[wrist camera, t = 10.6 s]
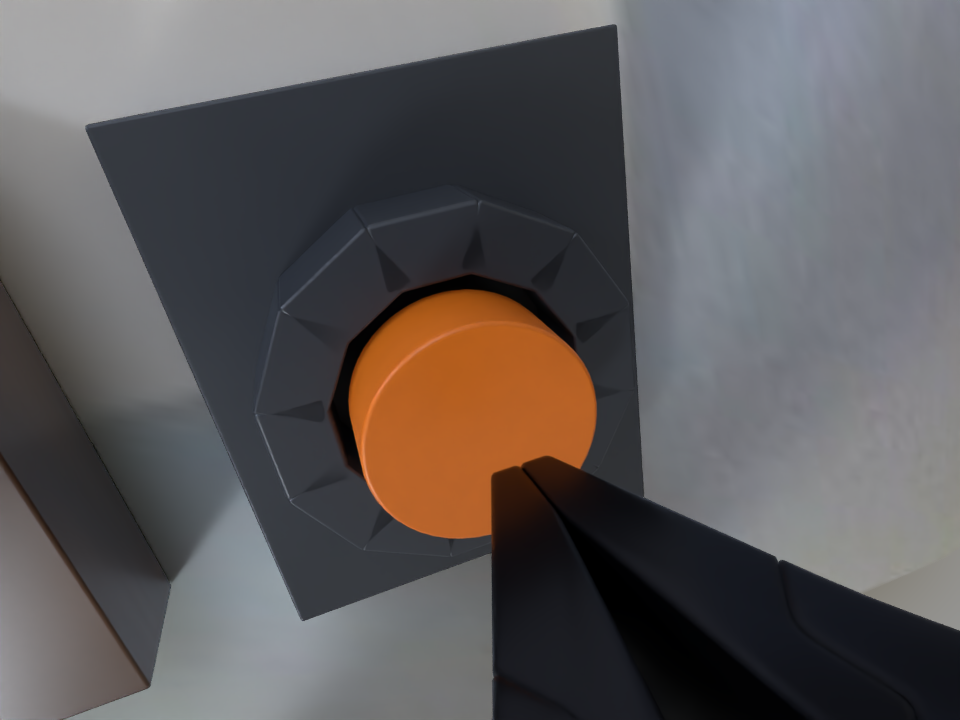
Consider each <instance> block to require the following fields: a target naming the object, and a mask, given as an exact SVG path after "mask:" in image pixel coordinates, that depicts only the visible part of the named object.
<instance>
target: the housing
mask: <svg viewBox="0 0 960 720" xmlns="http://www.w3.org/2000/svg"><path fill="white" fill-rule="evenodd" d="M85 129H86V132H87V134H88V136H89V139H90V141H91V143H92V146H93V148H94V150H95V152H96V155H97V157H98V159H99V161H100V164H101V166H102V168H103V171H104V173H105V175H106V177H107V180H108V182H109V184H110V187H111V189H112V191H113V193H114V196H115V198H116V200H117V202H118V205H119V207H120V209H121V212H122V214H123V216H124V218H125V221H126V223H127V225H128V227H129V230H130V232H131V234H132V237H133V239H134V241H135V243H136V246H137V248H138V250H139V253H140V255H141V257H142V259H143V262H144V264H145V266H146V268H147V271H148V273H149V275H150V278H151V280H152V282H153V284H154V287H155V289H156V291H157V294H158V296H159V298H160V300H161V303H162V305H163V307H164V309H165V312H166V314H167V316H168V319H169V321H170V323H171V325H172V328H173V330H174V332H175V334H176V337H177V339H178V341H179V344H180V346H181V348H182V350H183V353H184V355H185V357H186V360H187V362H188V364H189V366H190V369H191V371H192V373H193V375H194V378H195V380H196V382H197V385H198V387H199V389H200V391H201V394H202V396H203V398H204V400H205V403H206V405H207V407H208V410H209V412H210V414H211V416H212V419H213V421H214V423H215V426H216V428H217V430H218V432H219V435H220V437H221V439H222V441H223V444H224V446H225V448H226V451H227V453H228V455H229V457H230V460H231V462H232V464H233V467H234V469H235V471H236V473H237V476H238V478H239V480H240V482H241V485H242V487H243V489H244V492H245V494H246V496H247V498H248V501H249V503H250V505H251V507H252V510H253V512H254V514H255V517H256V519H257V521H258V523H259V526H260V528H261V530H262V533H263V535H264V537H265V539H266V542H267V544H268V546H269V548H270V551H271V553H272V555H273V558H274V560H275V562H276V564H277V567H278V569H279V571H280V573H281V576H282V578H283V580H284V583H285V585H286V587H287V589H288V592H289V594H290V596H291V599H292V601H293V603H294V605H295V608H296V610H297V612H298V614H299V617H300V619H301V620H302V621H305V620H308V619H310V618H313V617H316V616H319V615H321V614H324V613H327V612H330V611H332V610H335V609H338V608H341V607H343V606H346V605H349V604H351V603H354V602H357V601H360V600H362V599H365V598H368V597H371V596H373V595H376V594H379V593H382V592H384V591H387V590H390V589H393V588H395V587H398V586H401V585H404V584H406V583H409V582H412V581H415V580H417V579H420V578H423V577H426V576H428V575H431V574H434V573H437V572H439V571H442V570H445V569H448V568H450V567H453V566H456V565H459V564H461V563H464V562H467V561H470V560H472V559H475V558H478V557H481V556H483V555H486V554H489V553H492V551H491V535H486V536H481V537H476V538H464V539H456V538H443V537H436V536H431V535H428V534H424V533H421V532H418V531H416V530H414V529H412V528H409V527H407V526H406V525H404V524H402V523H401V522H399V521H398V520H396V519H395V518H394V517H392V516H391V515H390V514H389V513H388V512H386V511H385V510H384V509H383V507H382V506H381V505H380V504H379V503H378V502H377V500H376V499H375V497H374V496H373V494H372V493H371V491H370V489H369V487H368V485H367V482H366V480H365V478H364V475H363V470H362V466H361V462H360V458H359V453H358V449H357V445H356V440H355V436H354V432H353V427H352V423H351V419H350V414H349V403H348V398H349V386H350V382H351V377H352V373H353V370H354V367H355V365H356V362H357V360H358V358H359V356H360V354H361V352H362V350H363V348H364V347H365V345H366V344H367V342H368V341H369V340H370V338H371V337H372V335H373V334H374V333H375V332H376V331H377V330H378V329H379V328H380V327H381V326H382V324H383V323H385V322H386V321H387V320H388V319H389V318H391V317H392V316H393V315H394V314H395V313H397V312H398V311H400V310H401V309H403V308H405V307H406V306H408V305H409V304H412V303H414V302H416V301H418V300H420V299H422V298H425V297H428V296H430V295H433V294H436V293H441V292H446V291H451V290H462V289H472V290H484V291H489V292H494V293H497V294H500V295H503V296H506V297H508V298H510V299H512V300H514V301H516V302H518V303H520V304H521V305H522V306H524V307H525V308H526V309H528V310H529V311H530V312H532V313H533V314H534V315H535V316H536V317H537V318H538V319H540V320H541V321H542V322H543V323H544V324H545V325H546V326H548V327H549V328H550V329H551V330H552V331H553V332H554V333H556V334H557V335H558V336H559V337H560V338H561V339H562V340H564V341H565V342H566V343H567V344H568V345H569V346H570V347H571V348H572V349H573V350H574V351H575V352H576V353H577V354H578V356H579V357H580V359H581V360H582V361H583V363H584V364H585V366H586V368H587V370H588V372H589V374H590V377H591V380H592V383H593V386H594V390H595V396H596V402H597V419H596V428H595V433H594V437H593V441H592V444H591V447H590V449H589V452H588V455H587V457H586V459H585V461H584V463H583V465H582V467H581V468H580V469H581V470H583V471H585V472H588V473H590V474H592V475H594V476H596V477H599V478H601V479H603V480H605V481H608V482H610V483H612V484H614V485H617V486H619V487H621V488H623V489H626V490H628V491H630V492H632V493H634V494H637V495H639V496H641V497H644V489H643V472H642V454H641V437H640V420H639V402H638V385H637V367H636V350H635V333H634V315H633V298H632V280H631V263H630V245H629V228H628V211H627V193H626V176H625V158H624V141H623V124H622V106H621V89H620V71H619V54H618V37H617V26H616V25H614V24H612V25H607V26H601V27H596V28H590V29H585V30H580V31H574V32H569V33H564V34H558V35H553V36H548V37H543V38H537V39H532V40H527V41H522V42H516V43H511V44H506V45H501V46H495V47H490V48H485V49H480V50H474V51H469V52H464V53H459V54H453V55H448V56H443V57H438V58H432V59H427V60H422V61H417V62H411V63H406V64H401V65H396V66H390V67H385V68H380V69H375V70H369V71H364V72H359V73H354V74H348V75H343V76H338V77H333V78H327V79H322V80H317V81H312V82H306V83H301V84H296V85H291V86H285V87H280V88H275V89H270V90H264V91H259V92H254V93H249V94H243V95H238V96H233V97H228V98H222V99H217V100H212V101H207V102H201V103H196V104H191V105H186V106H180V107H175V108H170V109H165V110H159V111H154V112H149V113H144V114H138V115H133V116H128V117H123V118H118V119H113V120H108V121H103V122H98V123H92V124H88V125H87V126H85Z"/></svg>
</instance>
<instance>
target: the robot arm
mask: <svg viewBox="0 0 960 720" xmlns="http://www.w3.org/2000/svg"><path fill="white" fill-rule="evenodd" d="M491 551H492V654H493V677H494V678H493V680H492V697H493V719H492V720H960V631H959V630H956V629H954V628H951V627H948V626H945V625H943V624H940V623H937V622H934V621H931V620H929V619H926V618H923V617H921V616H918V615H915V614H913V613H910V612H907V611H905V610H902V609H900V608H897V607H894V606H892V605H889V604H886V603H884V602H881V601H879V600H876V599H873V598H871V597H868V596H866V595H863V594H861V593H859V592H856V591H854V590H851V589H849V588H847V587H844V586H842V585H840V584H837V583H835V582H833V581H830V580H828V579H825V578H823V577H821V576H818V575H816V574H814V573H811V572H809V571H807V570H805V569H803V568H800V567H798V566H796V565H794V564H791V563H789V562H787V561H785V560H780V561H779V562H778V561H777V558H776V557H775V556H773V555H771V554H768V553H766V552H764V551H762V550H760V549H757V548H755V547H753V546H751V545H748V544H746V543H744V542H742V541H739V540H737V539H735V538H733V537H730V536H728V535H726V534H724V533H722V532H719V531H717V530H715V529H713V528H710V527H708V526H706V525H704V524H701V523H699V522H697V521H695V520H693V519H690V518H688V517H686V516H684V515H681V514H679V513H677V512H675V511H672V510H670V509H668V508H666V507H663V506H661V505H659V504H657V503H655V502H652V501H650V500H648V499H646V498H643V497H641V496H639V495H637V494H634V493H632V492H630V491H628V490H626V489H623V488H621V487H619V486H617V485H614V484H612V483H610V482H608V481H605V480H603V479H601V478H599V477H596V476H594V475H592V474H590V473H588V472H585V471H583V470H581V469H579V468H576V467H574V466H572V465H570V464H567V463H565V462H563V461H561V460H558V459H556V458H554V457H552V456H547V455H546V456H542V457H539V458H536V459H533V460H530V461H527V462H524V463H523V464H522V465H521V467H519V466H512V467H509V468H506V469H503V470H500V471H497V472H494V473H493V474H492V476H491Z"/></svg>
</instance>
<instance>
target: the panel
mask: <svg viewBox="0 0 960 720" xmlns="http://www.w3.org/2000/svg"><path fill="white" fill-rule="evenodd" d="M170 589H171V584H170V583H169V581H168V579H167V577H166V576H165V574H164V572H163V570H162V568H161V567H160V565H159V563H158V561H157V559H156V558H155V556H154V554H153V552H152V551H151V549H150V547H149V545H148V543H147V542H146V540H145V538H144V536H143V534H142V533H141V531H140V529H139V527H138V526H137V524H136V522H135V520H134V518H133V517H132V515H131V513H130V511H129V509H128V508H127V506H126V504H125V502H124V500H123V499H122V497H121V495H120V493H119V492H118V490H117V488H116V486H115V484H114V483H113V481H112V479H111V477H110V475H109V474H108V472H107V470H106V468H105V467H104V465H103V463H102V461H101V459H100V458H99V456H98V454H97V452H96V450H95V449H94V447H93V445H92V443H91V442H90V440H89V438H88V436H87V434H86V433H85V431H84V429H83V427H82V425H81V424H80V422H79V420H78V418H77V417H76V415H75V413H74V411H73V409H72V408H71V406H70V404H69V402H68V400H67V399H66V397H65V395H64V393H63V392H62V390H61V388H60V386H59V384H58V383H57V381H56V379H55V377H54V375H53V374H52V372H51V370H50V368H49V367H48V365H47V363H46V361H45V359H44V358H43V356H42V354H41V352H40V350H39V349H38V347H37V345H36V343H35V342H34V340H33V338H32V336H31V334H30V333H29V331H28V329H27V327H26V325H25V324H24V322H23V320H22V318H21V317H20V315H19V313H18V311H17V309H16V308H15V306H14V304H13V302H12V300H11V299H10V297H9V295H8V293H7V292H6V290H5V288H4V286H3V284H2V283H1V281H0V720H63V719H66V718H69V717H71V716H74V715H77V714H79V713H82V712H85V711H88V710H90V709H93V708H96V707H99V706H101V705H104V704H107V703H109V702H112V701H115V700H118V699H120V698H123V697H126V696H128V695H131V694H134V693H137V692H139V691H142V690H145V689H147V688H149V687H150V686H151V681H152V676H153V671H154V667H155V662H156V657H157V652H158V647H159V642H160V637H161V633H162V628H163V623H164V618H165V613H166V608H167V603H168V599H169V594H170Z"/></svg>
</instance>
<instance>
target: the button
mask: <svg viewBox="0 0 960 720" xmlns="http://www.w3.org/2000/svg"><path fill="white" fill-rule="evenodd" d="M348 403H349V414H350V419H351V423H352V427H353V432H354V436H355V440H356V445H357V449H358V453H359V458H360V462H361V466H362V470H363V475H364V478H365V480H366V482H367V485H368V487H369V489H370V491H371V493H372V494H373V496H374V497H375V499H376V500H377V502H378V503H379V504H380V505H381V506H382V507H383V509H384V510H385V511H386V512H388V513H389V514H390V515H391V516H392V517H394V518H395V519H396V520H398V521H399V522H401V523H402V524H404V525H406V526H407V527H409V528H412V529H414V530H416V531H418V532H421V533H424V534H428V535H431V536H436V537H443V538H456V539H464V538H476V537H481V536H486V535H491V476H492V474H493V473H494V472H497V471H500V470H503V469H506V468H509V467H512V466H519V467H521V465H522V464H523V463H524V462H527V461H530V460H533V459H536V458H539V457H542V456H546V455H547V456H552V457H554V458H556V459H558V460H561V461H563V462H565V463H567V464H570V465H572V466H574V467H576V468H579V469H580V468H581V467H582V465H583V463H584V461H585V459H586V457H587V455H588V452H589V449H590V447H591V444H592V441H593V437H594V433H595V428H596V419H597V402H596V396H595V390H594V386H593V383H592V380H591V377H590V374H589V372H588V370H587V368H586V366H585V364H584V363H583V361H582V360H581V359H580V357H579V356H578V354H577V353H576V352H575V351H574V350H573V349H572V348H571V347H570V346H569V345H568V344H567V343H566V342H565V341H564V340H562V339H561V338H560V337H559V336H558V335H557V334H556V333H554V332H553V331H552V330H551V329H550V328H549V327H548V326H546V325H545V324H544V323H543V322H542V321H541V320H540V319H538V318H537V317H536V316H535V315H534V314H533V313H532V312H530V311H529V310H528V309H526V308H525V307H524V306H522V305H521V304H520V303H518V302H516V301H514V300H512V299H510V298H508V297H506V296H503V295H500V294H497V293H494V292H489V291H484V290H472V289H462V290H451V291H446V292H441V293H436V294H433V295H430V296H428V297H425V298H422V299H420V300H418V301H416V302H414V303H412V304H409V305H408V306H406V307H405V308H403V309H401V310H400V311H398V312H397V313H395V314H394V315H393V316H392V317H391V318H389V319H388V320H387V321H386V322H385V323H383V324H382V326H381V327H380V328H379V329H378V330H377V331H376V332H375V333H374V334H373V335H372V337H371V338H370V340H369V341H368V342H367V344H366V345H365V347H364V348H363V350H362V352H361V354H360V356H359V358H358V360H357V362H356V365H355V367H354V370H353V373H352V377H351V382H350V386H349V398H348Z"/></svg>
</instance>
